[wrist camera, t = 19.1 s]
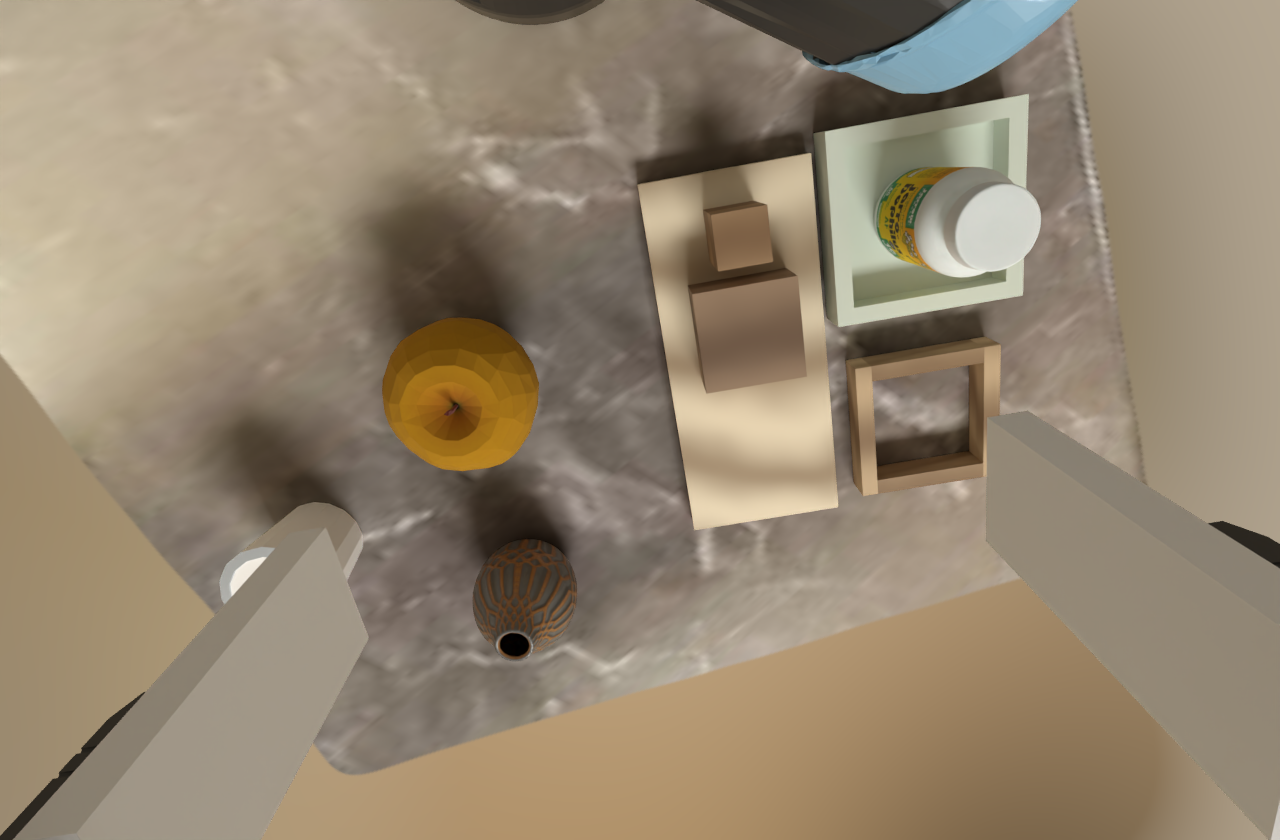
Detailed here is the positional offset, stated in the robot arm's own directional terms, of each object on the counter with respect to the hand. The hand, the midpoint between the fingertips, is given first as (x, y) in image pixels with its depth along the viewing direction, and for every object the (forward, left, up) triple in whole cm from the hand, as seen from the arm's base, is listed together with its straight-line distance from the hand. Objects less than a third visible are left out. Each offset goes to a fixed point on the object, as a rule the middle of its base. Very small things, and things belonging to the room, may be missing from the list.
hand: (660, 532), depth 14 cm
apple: (+4, -11, -31) cm, 33 cm away
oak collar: (+12, +17, -31) cm, 37 cm away
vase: (+19, -11, -31) cm, 38 cm away
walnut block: (+4, +6, -29) cm, 30 cm away
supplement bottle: (-1, +17, -30) cm, 35 cm away
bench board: (+6, +6, -31) cm, 32 cm away
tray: (-1, +17, -31) cm, 35 cm away
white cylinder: (+14, -25, -31) cm, 42 cm away
